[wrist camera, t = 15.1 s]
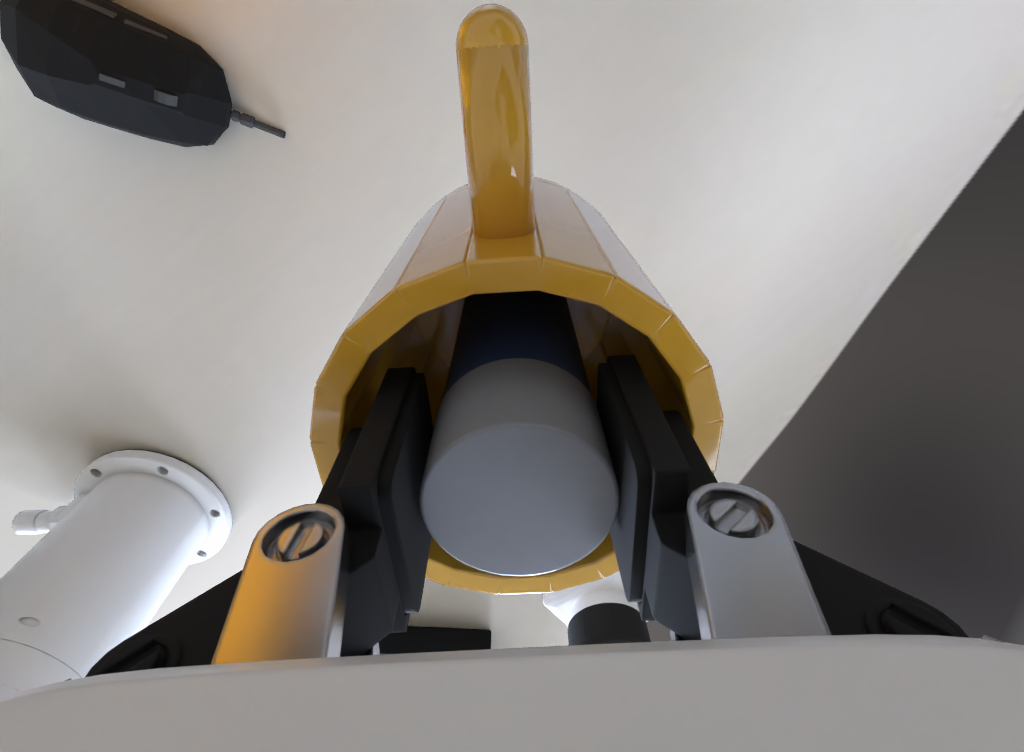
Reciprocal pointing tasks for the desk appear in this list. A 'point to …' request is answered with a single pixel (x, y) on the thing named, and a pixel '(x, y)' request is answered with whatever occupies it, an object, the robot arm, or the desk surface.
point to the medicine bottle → (598, 613)
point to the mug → (508, 288)
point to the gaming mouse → (120, 70)
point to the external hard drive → (435, 640)
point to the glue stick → (518, 442)
